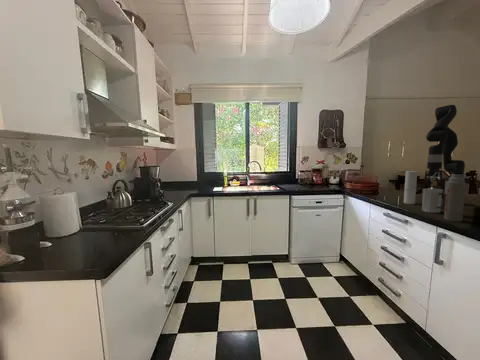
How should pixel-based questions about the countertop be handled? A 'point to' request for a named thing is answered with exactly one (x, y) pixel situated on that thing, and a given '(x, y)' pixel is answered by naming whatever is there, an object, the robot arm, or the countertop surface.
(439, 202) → the press body
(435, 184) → the plunger
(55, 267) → the countertop surface
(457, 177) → the thermos bottle
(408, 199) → the cylindrical container
